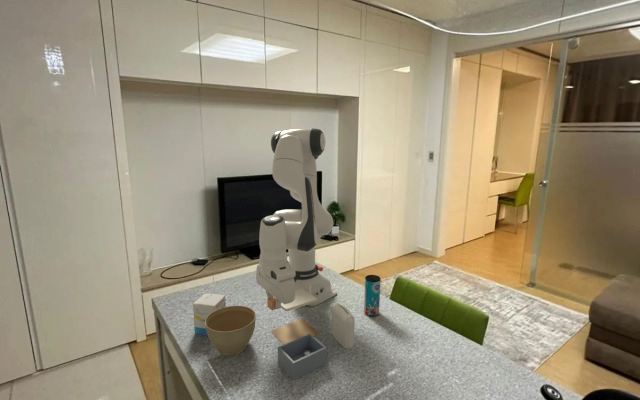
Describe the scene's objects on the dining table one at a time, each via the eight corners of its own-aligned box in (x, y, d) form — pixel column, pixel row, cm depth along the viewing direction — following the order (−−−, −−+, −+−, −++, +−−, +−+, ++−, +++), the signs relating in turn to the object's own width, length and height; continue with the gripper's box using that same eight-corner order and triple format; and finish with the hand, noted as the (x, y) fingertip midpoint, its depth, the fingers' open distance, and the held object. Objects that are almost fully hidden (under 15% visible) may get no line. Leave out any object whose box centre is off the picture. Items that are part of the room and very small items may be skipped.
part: (308, 352, 107) (308, 347, 107) (313, 357, 105) (313, 351, 105) (301, 356, 106) (301, 350, 105) (306, 360, 104) (306, 355, 103)
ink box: (216, 336, 117) (214, 306, 114) (194, 333, 118) (191, 303, 116) (227, 323, 125) (225, 294, 123) (206, 320, 127) (204, 292, 124)
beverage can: (370, 318, 129) (372, 282, 126) (360, 311, 134) (362, 276, 131) (382, 314, 132) (383, 278, 129) (372, 307, 137) (373, 273, 134)
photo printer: (330, 334, 118) (330, 302, 116) (340, 331, 120) (341, 299, 118) (344, 351, 109) (345, 316, 107) (355, 347, 111) (356, 313, 109)
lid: (302, 293, 123) (302, 283, 123) (317, 303, 116) (317, 292, 115) (263, 305, 114) (262, 294, 113) (276, 317, 106) (276, 305, 106)
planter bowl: (264, 336, 117) (263, 307, 115) (244, 366, 102) (243, 334, 100) (221, 330, 120) (220, 302, 118) (196, 359, 105) (194, 328, 103)
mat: (302, 319, 127) (302, 318, 127) (321, 334, 118) (321, 333, 118) (269, 332, 119) (269, 331, 119) (287, 349, 110) (287, 348, 110)
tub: (309, 349, 110) (309, 333, 109) (326, 365, 103) (326, 347, 102) (277, 364, 103) (277, 347, 102) (293, 381, 96) (293, 363, 94)
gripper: (250, 258, 115) (252, 296, 117) (280, 278, 99) (281, 321, 101) (267, 255, 118) (268, 291, 121) (298, 273, 102) (298, 315, 105)
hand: (274, 305), depth 111 cm, fingers closed on lid, 3 cm apart
